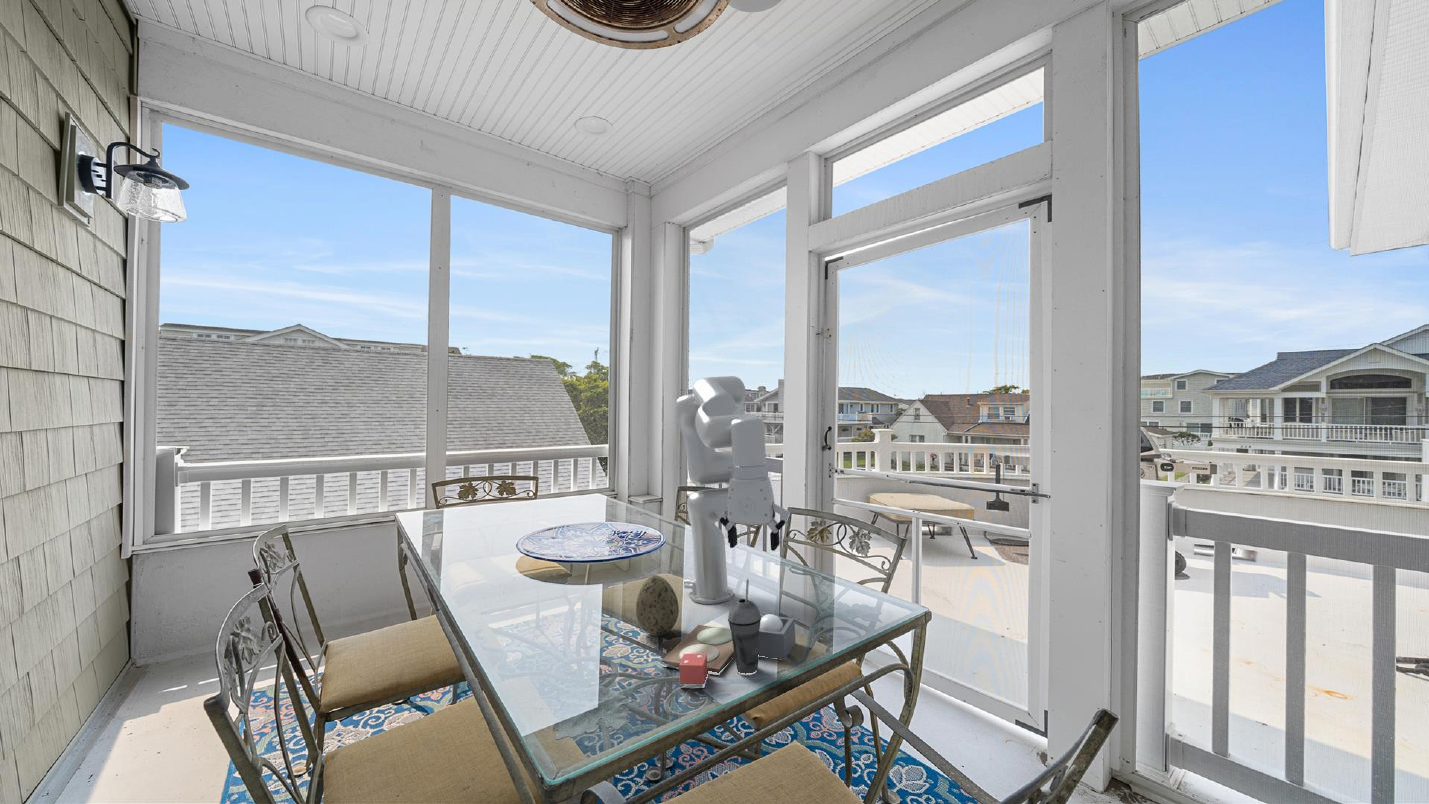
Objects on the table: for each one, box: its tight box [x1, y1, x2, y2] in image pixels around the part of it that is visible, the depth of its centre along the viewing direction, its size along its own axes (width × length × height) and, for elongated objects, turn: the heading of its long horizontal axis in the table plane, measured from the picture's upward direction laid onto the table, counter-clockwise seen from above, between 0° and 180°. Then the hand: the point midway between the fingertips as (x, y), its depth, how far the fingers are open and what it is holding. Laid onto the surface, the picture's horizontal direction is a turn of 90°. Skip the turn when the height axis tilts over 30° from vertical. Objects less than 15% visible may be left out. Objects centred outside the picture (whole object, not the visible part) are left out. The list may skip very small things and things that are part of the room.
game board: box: [661, 624, 735, 673], centre depth 136 cm, size 14×20×2 cm
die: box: [679, 654, 709, 685], centre depth 123 cm, size 5×5×5 cm
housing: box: [759, 614, 796, 661], centre depth 136 cm, size 9×9×6 cm
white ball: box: [760, 613, 783, 632], centre depth 136 cm, size 6×6×6 cm
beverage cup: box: [727, 578, 761, 674], centre depth 126 cm, size 7×7×20 cm
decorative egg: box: [635, 574, 680, 637], centre depth 147 cm, size 11×11×15 cm
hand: (753, 547), depth 131 cm, fingers open, 9 cm apart
